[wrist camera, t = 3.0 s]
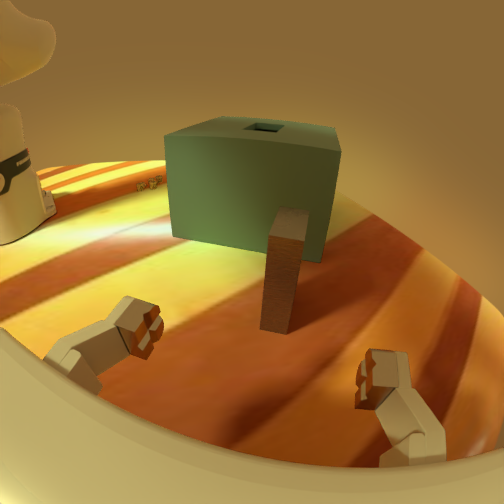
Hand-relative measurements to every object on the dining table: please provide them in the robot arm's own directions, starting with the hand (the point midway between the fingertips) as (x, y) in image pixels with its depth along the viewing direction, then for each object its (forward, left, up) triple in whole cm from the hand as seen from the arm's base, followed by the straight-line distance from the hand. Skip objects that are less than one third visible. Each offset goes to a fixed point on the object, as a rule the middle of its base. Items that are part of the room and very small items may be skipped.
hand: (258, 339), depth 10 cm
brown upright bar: (-9, +9, -12) cm, 17 cm away
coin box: (-27, +19, -11) cm, 35 cm away
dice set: (-49, +7, -12) cm, 51 cm away
